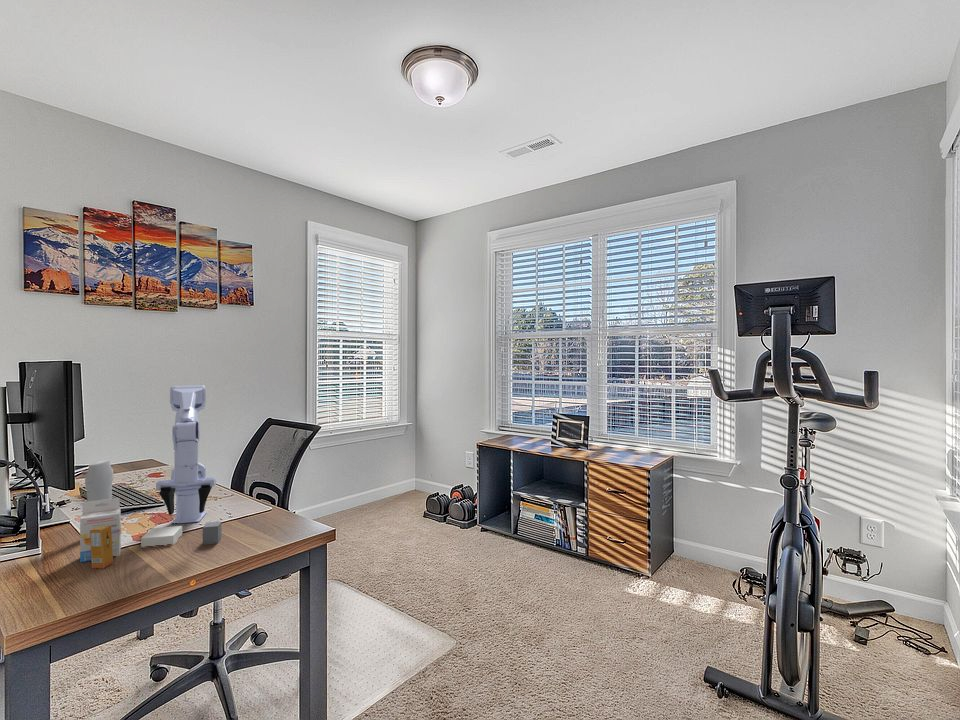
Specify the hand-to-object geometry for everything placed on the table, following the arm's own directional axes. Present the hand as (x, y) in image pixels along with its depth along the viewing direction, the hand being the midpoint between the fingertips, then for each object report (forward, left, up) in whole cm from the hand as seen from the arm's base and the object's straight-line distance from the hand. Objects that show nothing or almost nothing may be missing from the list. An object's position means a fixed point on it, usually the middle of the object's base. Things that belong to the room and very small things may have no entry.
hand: (186, 512), depth 138 cm
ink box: (+1, -20, -10) cm, 23 cm away
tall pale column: (-18, -28, -10) cm, 35 cm away
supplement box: (+8, -17, -10) cm, 21 cm away
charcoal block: (-3, +6, -10) cm, 12 cm away
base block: (-7, -8, -10) cm, 15 cm away
